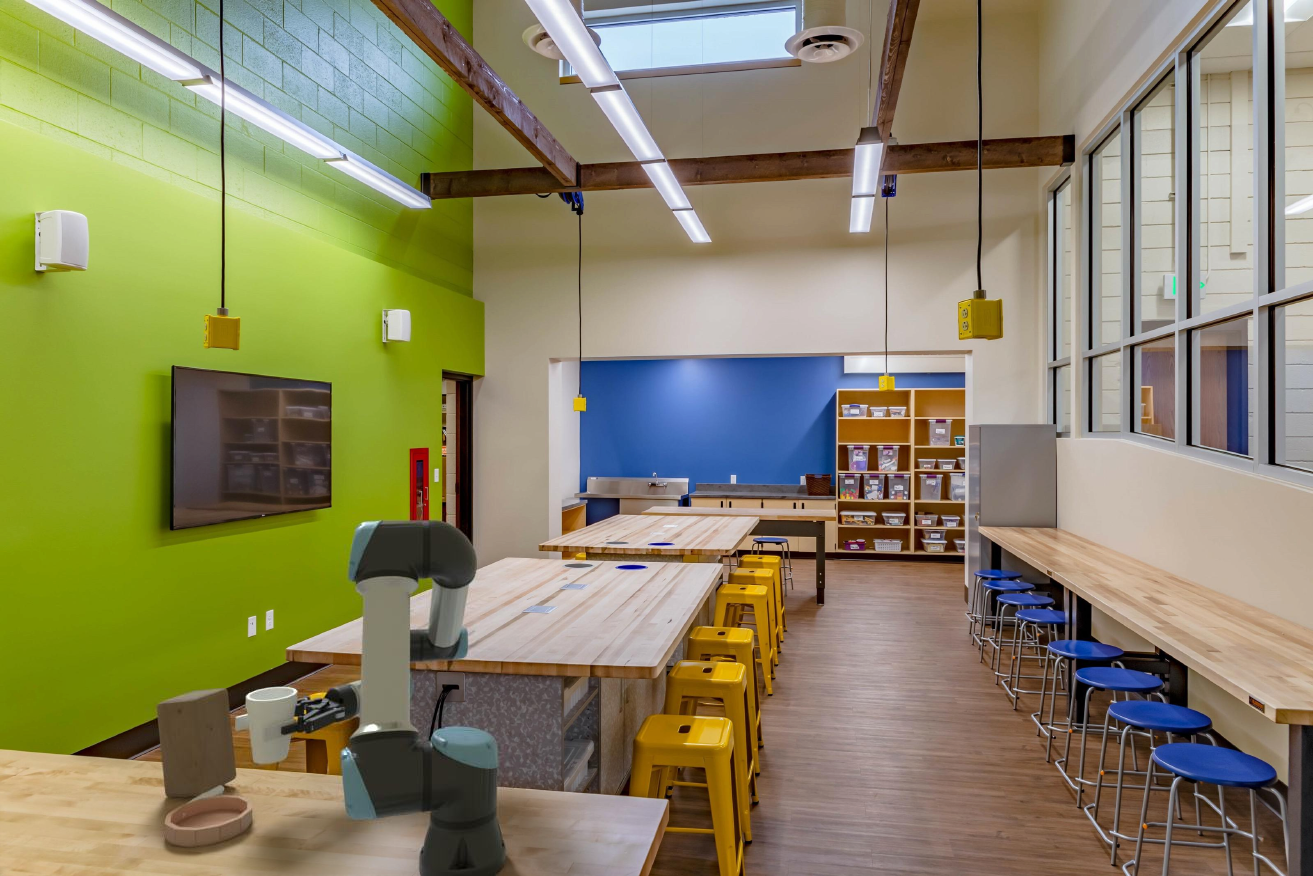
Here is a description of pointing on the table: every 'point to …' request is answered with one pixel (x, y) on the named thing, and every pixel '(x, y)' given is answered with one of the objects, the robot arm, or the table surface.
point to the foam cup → (270, 721)
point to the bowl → (208, 821)
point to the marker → (210, 794)
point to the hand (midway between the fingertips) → (249, 729)
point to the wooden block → (196, 742)
